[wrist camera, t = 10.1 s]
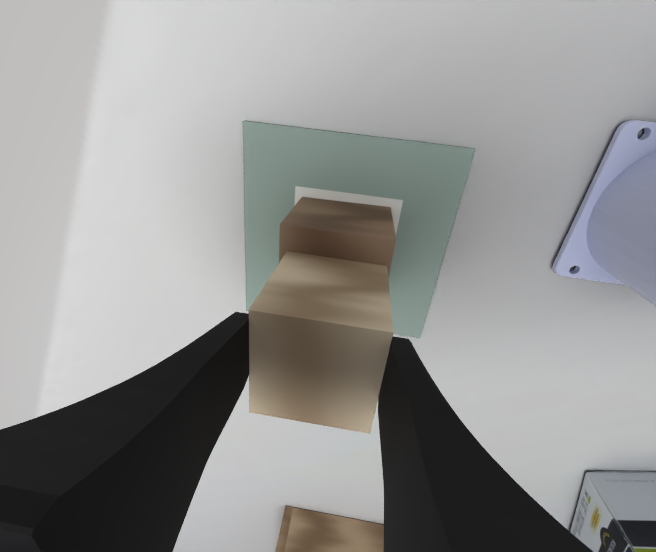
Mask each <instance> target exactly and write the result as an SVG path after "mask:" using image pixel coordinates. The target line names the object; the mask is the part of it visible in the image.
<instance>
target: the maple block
mask: <svg viewBox="0 0 656 552" xmlns="http://www.w3.org/2000/svg"><path fill="white" fill-rule="evenodd" d="M392 336H393V323H392V312H391V301H390V290H389V280H388V269H387V266H385V265H378V264H371V263H364V262H357V261H350V260H343V259H336V258H329V257H322V256H315V255H308V254H301V253H294V252H286V253H285V255H284V256H283V258H282V259H281V261H280V262H279V264H278V265H277V267H276V269H275V270H274V272H273V273H272V275H271V276H270V278H269V279H268V281H267V282H266V284H265V285H264V287H263V289H262V290H261V292H260V293H259V295H258V296H257V298H256V299H255V301H254V302H253V304H252V305H251V307H250V309H249V412H251V413H257V414H262V415H268V416H273V417H279V418H285V419H290V420H296V421H302V422H307V423H313V424H318V425H324V426H330V427H335V428H341V429H347V430H352V431H358V432H363V433H369V434H370V431H371V427H372V423H373V418H374V414H375V410H376V405H377V401H378V397H379V392H380V387H381V383H382V379H383V374H384V370H385V366H386V362H387V357H388V353H389V349H390V344H391V341H392Z"/></svg>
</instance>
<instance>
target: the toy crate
mask: <svg viewBox="0 0 656 552" xmlns="http://www.w3.org/2000/svg"><path fill="white" fill-rule="evenodd" d="M276 552H384V525H382V524H377V523H372V522H367V521H362V520H356V519H351V518H346V517H341V516H336V515H331V514H325V513H320V512H315V511H310V510H305V509H300V508H294V507H289V506H286V507H285V511H284V516H283V520H282V525H281V529H280V534H279V538H278V543H277V547H276Z"/></svg>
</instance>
